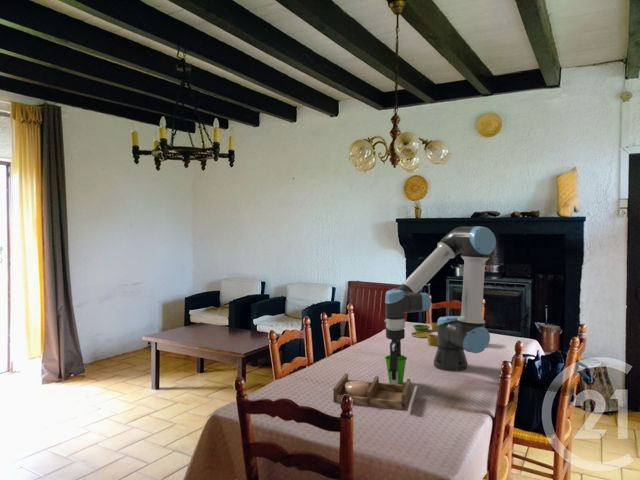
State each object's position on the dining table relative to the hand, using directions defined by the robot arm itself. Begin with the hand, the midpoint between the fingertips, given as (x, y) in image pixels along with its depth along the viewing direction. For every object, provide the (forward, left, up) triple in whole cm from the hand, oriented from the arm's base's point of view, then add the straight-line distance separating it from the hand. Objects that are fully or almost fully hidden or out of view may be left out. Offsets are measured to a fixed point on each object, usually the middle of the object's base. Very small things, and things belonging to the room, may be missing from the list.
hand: (396, 382), depth 191 cm
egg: (+13, +17, 0) cm, 21 cm away
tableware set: (-11, -87, -2) cm, 88 cm away
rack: (+6, +17, -1) cm, 18 cm away
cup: (0, 0, -1) cm, 1 cm away
